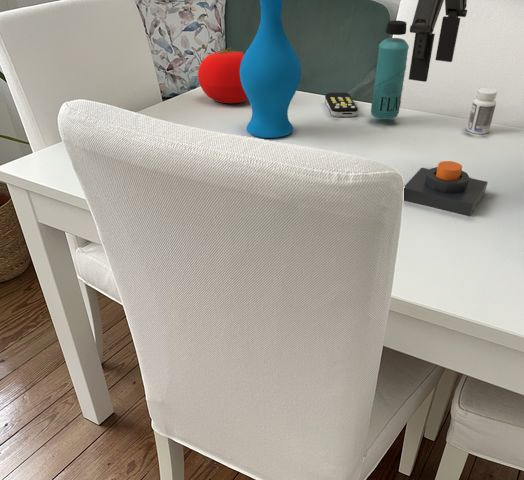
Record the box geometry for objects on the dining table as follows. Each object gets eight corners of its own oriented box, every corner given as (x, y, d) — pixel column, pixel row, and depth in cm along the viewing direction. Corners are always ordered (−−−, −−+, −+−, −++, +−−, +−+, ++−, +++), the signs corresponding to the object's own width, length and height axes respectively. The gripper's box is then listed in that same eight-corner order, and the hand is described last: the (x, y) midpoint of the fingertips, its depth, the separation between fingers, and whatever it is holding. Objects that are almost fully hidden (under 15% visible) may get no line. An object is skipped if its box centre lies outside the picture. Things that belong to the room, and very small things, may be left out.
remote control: (348, 99, 141) (349, 91, 139) (358, 117, 131) (359, 108, 130) (323, 100, 140) (324, 91, 139) (331, 117, 131) (332, 108, 130)
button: (462, 175, 98) (465, 163, 97) (455, 183, 96) (458, 172, 94) (439, 170, 100) (442, 159, 99) (432, 178, 97) (435, 167, 96)
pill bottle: (492, 130, 125) (503, 90, 120) (482, 136, 123) (492, 95, 117) (472, 125, 128) (482, 85, 122) (462, 130, 125) (471, 90, 120)
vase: (301, 141, 120) (309, -16, 101) (241, 142, 119) (239, -16, 101) (295, 121, 129) (301, -26, 111) (239, 122, 128) (236, -26, 110)
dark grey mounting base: (484, 193, 101) (490, 171, 99) (469, 216, 95) (475, 193, 92) (419, 178, 106) (423, 157, 103) (400, 199, 99) (404, 177, 97)
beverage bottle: (374, 126, 126) (387, 25, 113) (365, 116, 131) (377, 18, 118) (402, 125, 127) (418, 24, 114) (392, 115, 132) (407, 17, 119)
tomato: (233, 113, 133) (231, 59, 125) (190, 101, 139) (186, 49, 132) (266, 100, 140) (266, 49, 133) (224, 89, 147) (222, 39, 139)
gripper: (458, -99, 89) (432, 51, 103) (403, -91, 73) (381, 85, 86) (507, -98, 86) (474, 56, 100) (461, -90, 70) (429, 93, 84)
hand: (431, 70), depth 93 cm, fingers open, 13 cm apart
